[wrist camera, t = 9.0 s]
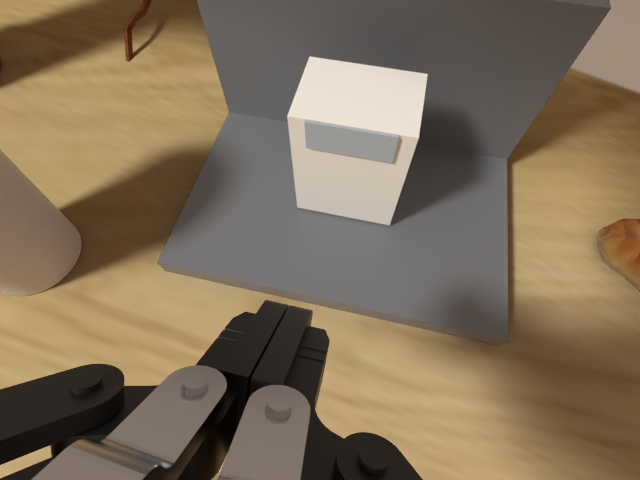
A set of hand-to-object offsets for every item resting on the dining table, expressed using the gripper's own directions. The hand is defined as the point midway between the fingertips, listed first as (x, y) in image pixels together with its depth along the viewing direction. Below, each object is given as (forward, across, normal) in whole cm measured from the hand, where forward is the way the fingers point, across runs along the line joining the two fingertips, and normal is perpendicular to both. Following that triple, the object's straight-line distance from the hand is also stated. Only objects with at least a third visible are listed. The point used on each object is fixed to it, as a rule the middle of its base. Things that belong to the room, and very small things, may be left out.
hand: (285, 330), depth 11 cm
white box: (+18, 0, -2) cm, 18 cm away
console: (+20, 0, -1) cm, 20 cm away
